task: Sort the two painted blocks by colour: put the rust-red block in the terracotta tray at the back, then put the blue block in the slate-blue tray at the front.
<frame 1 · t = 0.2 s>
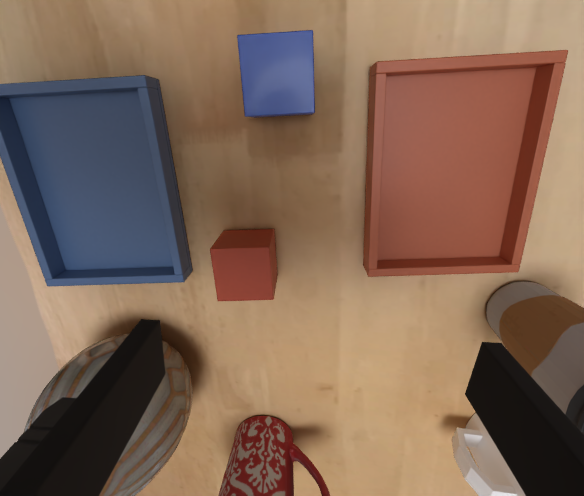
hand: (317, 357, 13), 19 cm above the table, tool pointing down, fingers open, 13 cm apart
coffee cup: (514, 305, 34), on the table
blue block: (281, 83, 27), on the table
mug: (277, 432, 42), on the table
terracotta tray: (442, 173, 29), on the table
rust block: (251, 253, 32), on the table
vase: (151, 358, 38), on the table
blue tray: (106, 188, 30), on the table
mug 2: (498, 425, 40), on the table
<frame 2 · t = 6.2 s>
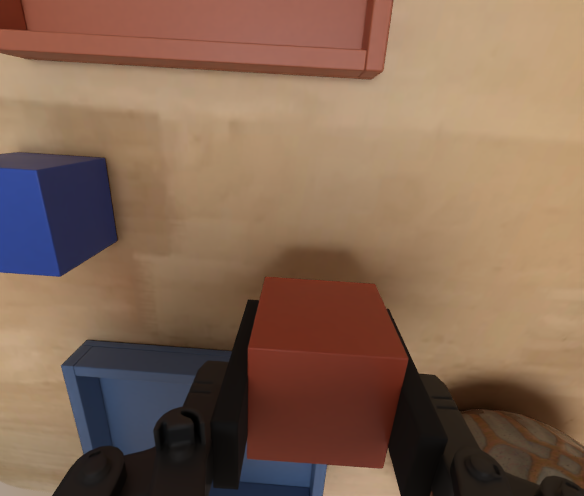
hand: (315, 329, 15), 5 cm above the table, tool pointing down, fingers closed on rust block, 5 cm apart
blue block: (70, 198, 19), on the table
rust block: (315, 326, 16), point 5 cm above the table, touching gripper
vase: (470, 438, 25), on the table
blue tray: (212, 420, 25), on the table
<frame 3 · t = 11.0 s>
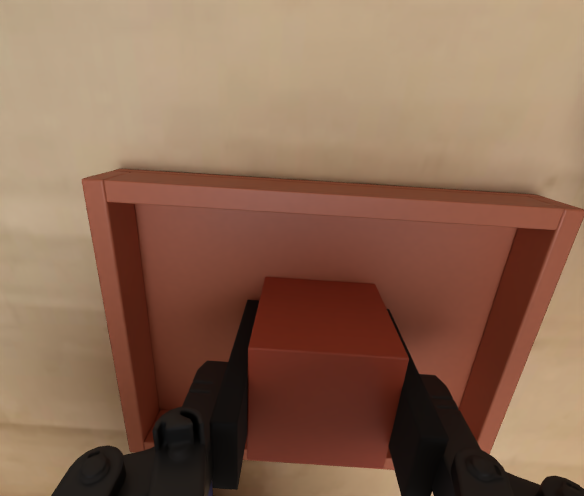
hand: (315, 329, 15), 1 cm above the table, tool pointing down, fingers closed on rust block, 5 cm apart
terracotta tray: (314, 318, 16), on the table
rust block: (315, 326, 16), point 1 cm above the table, touching gripper, terracotta tray
when the fingers open (1 cm above the table, at t = 11.1 s): rust block stays where it is, resting on terracotta tray.
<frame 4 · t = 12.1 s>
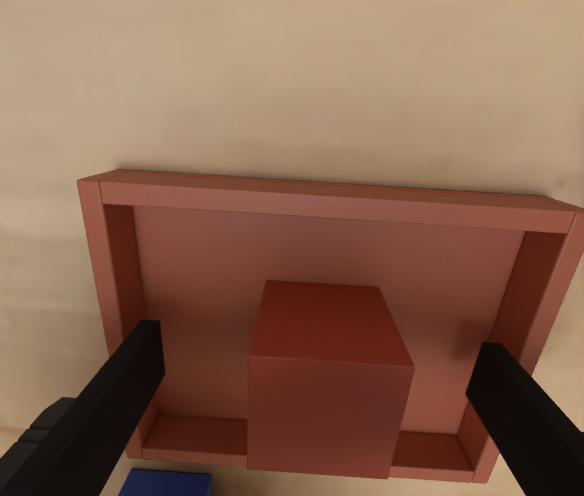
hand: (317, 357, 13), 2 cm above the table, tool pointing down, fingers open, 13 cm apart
terracotta tray: (316, 322, 16), on the table
rust block: (317, 330, 15), point 1 cm above the table, touching terracotta tray
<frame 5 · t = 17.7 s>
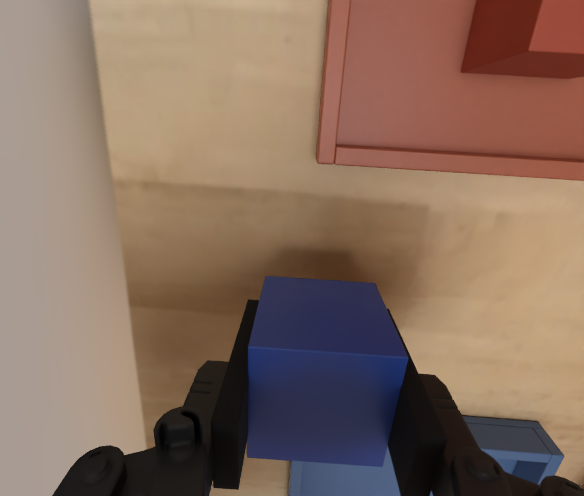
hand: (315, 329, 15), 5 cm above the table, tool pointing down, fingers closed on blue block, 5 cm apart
blue block: (315, 325, 16), point 5 cm above the table, touching gripper
terracotta tray: (522, 15, 15), on the table
rust block: (532, 11, 14), point 1 cm above the table, touching terracotta tray
blue tray: (399, 474, 26), on the table
when the fingers open (1 cm above the table, at t = 22.5 s): blue block stays where it is, resting on blue tray.
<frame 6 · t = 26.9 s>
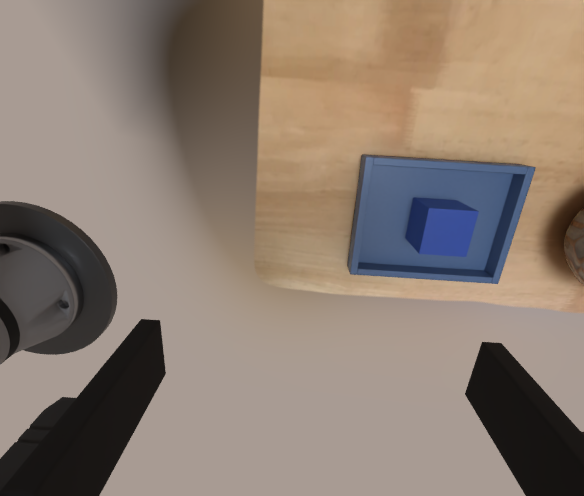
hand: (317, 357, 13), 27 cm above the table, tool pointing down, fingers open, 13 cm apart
blue block: (430, 219, 38), point 1 cm above the table, touching blue tray
blue tray: (428, 218, 38), on the table
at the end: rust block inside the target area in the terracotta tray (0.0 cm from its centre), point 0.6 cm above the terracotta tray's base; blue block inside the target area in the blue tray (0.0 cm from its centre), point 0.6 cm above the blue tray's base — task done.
